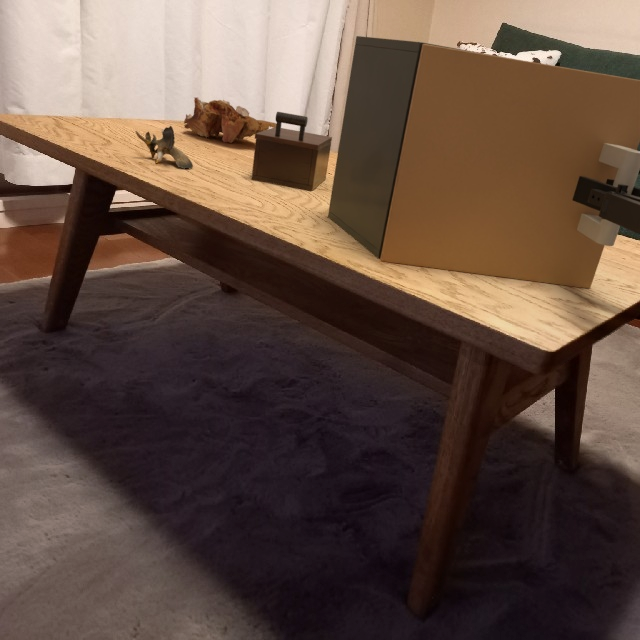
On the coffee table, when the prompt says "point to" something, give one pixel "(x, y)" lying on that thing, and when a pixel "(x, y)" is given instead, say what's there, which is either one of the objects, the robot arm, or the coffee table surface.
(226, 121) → the mineral formation
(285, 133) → the walnut lid
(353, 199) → the cupboard
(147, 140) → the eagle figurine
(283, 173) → the walnut box
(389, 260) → the cupboard door
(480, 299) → the coffee table surface
